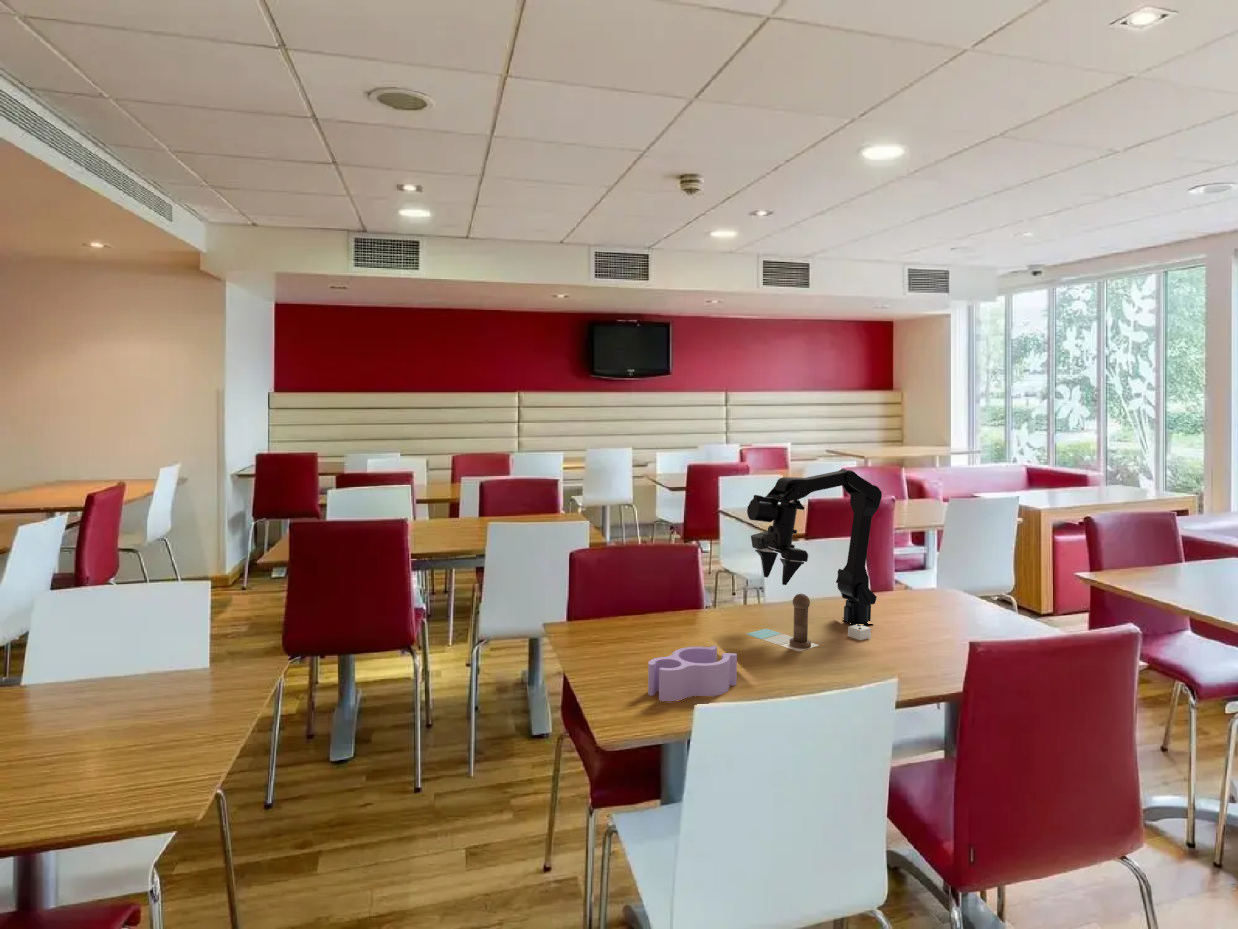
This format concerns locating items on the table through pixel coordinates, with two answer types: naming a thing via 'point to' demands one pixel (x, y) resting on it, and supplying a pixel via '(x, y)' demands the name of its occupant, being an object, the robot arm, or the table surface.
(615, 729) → the table surface
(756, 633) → the board
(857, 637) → the die
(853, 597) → the robot arm
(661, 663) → the clip
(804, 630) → the pawn
